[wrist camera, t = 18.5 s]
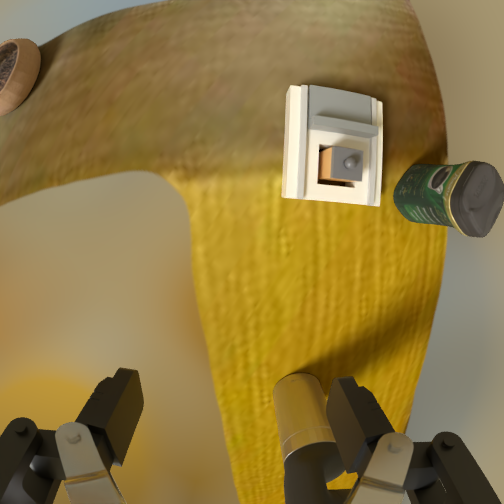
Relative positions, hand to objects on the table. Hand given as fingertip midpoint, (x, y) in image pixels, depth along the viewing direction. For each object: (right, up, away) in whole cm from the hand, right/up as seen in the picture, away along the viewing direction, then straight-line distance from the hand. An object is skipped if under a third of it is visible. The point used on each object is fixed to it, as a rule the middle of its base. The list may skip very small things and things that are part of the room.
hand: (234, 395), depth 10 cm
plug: (+12, +18, +30) cm, 37 cm away
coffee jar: (+28, +16, +32) cm, 45 cm away
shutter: (+13, +25, +24) cm, 37 cm away
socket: (+12, +21, +30) cm, 38 cm away
